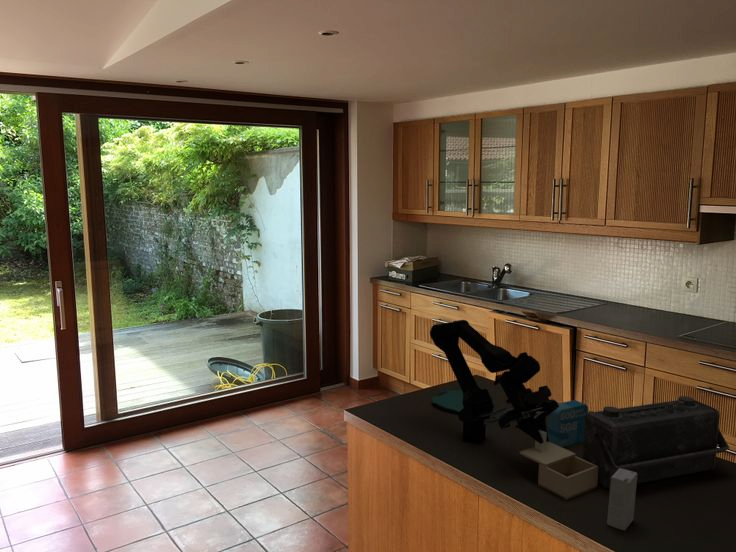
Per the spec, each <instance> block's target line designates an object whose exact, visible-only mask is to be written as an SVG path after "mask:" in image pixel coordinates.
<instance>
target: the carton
mask: <svg viewBox="0 0 736 552" xmlns="http://www.w3.org/2000/svg"><path fill="white" fill-rule="evenodd" d="M597 481H598V466H596V465H594V464H592V463H590V462H587V461H585V460H583V459H582V458H580V457H579V456H577V455H576V456H574V457H571V458H568V459H565V460H563V461H560V462H557V463H554V464H552V465H549V466H544V465H542V464H540V463H538V481H537V486H538V487H540V488H542V489H544V490H546V491H548V492H550V493H551V494H553V495H555V496H557V497H559V498H561V499H563V500H565V501H568V500H571V499H573V498H575V497H578V496H580V495H582V494H585V493H587V492H590V491H592V490H595V489H596V488H598V483H597Z"/></svg>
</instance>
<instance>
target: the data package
mask: <svg viewBox="0 0 736 552" xmlns="http://www.w3.org/2000/svg"><path fill="white" fill-rule="evenodd" d="M557 404H558V405H559V407H558V408H557V409H556V410H555V411H553V412H552V413H551V414H549V415H548V416H547V425H546V429H547V434H548V439H549V441H548V442H551V443H553V444H555V445H557V446H560V447H562V448H564V447H568V446H569V447H570V446H573V445H575V444H580V443H583V441H584V424H585V415H586V413H587V412H589V406H588V405H587V404H585V403H583V402H581V401H579V400H576V399H572V400H568V401H564V402H559V403H558V402H557Z"/></svg>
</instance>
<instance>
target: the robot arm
mask: <svg viewBox="0 0 736 552" xmlns="http://www.w3.org/2000/svg"><path fill="white" fill-rule="evenodd" d="M429 335H430V338H431V340H432V342H433V343H434V345H435V346H436V348H438V349H439V350H440V351H442V352H443V353H444V355H445V357H446V360H447V361H448V363H449V365H450V367H451V370H452V372H453V374H454V377H455V378H456V380H457V383H458V385H459V387H460V389H461V391H462V392H463V401H462V403H463V406H464V408H463V409H462V410H461V411H460V412H457V416H458V421H460V422H462V437H461V441H462V442H467V443H474V444H480V445H481V444H484V442H485V441H486V438H487V437H488V436H487V433H488V428H487V427H488V424H487V423H486V421H487V419H489V420H490V419H491V418H490V417H491V416H492V415H493V414H492V412H493V411H494V407H495V406H494V402H493V401H494V400H493V398H492V396H491V395H490V393H489V390H488V389H487V388H484V389H482V388H481V387H480V386H478V384H477V381H476V379H475V377H474V376H473V375H474V374H473V373H472V371H471V369H470V367H469V365H468V363H467V362H468V361H466V359H465V356H464V355H463V352H462V350H461V348H460V346H459V343H460V339H461V340H462V341H463V342H464V343H465V344H467V345H468V346H469V347H470V348H471V349H472V350H473V351H474V352H475V353H476V354H477V355H478V356H479V357H480V360H481V363H482V365H483V366H484V367H485V369H486V370H487V371H488V372H489V373H491V374H495V373H496V374H497V373H500V372H502V373H501V374H497V375H495V379H494V381H493V385H494V386H499V385H500V386H501V388H502V390H503V392H504V394H505V395H506V397H507V399H506V400H505V402H506V403H507V405H509V404H510V405H511V407H512V408H513V410H511V411H507V410H506V411H507V412H506V413H505V414H504V415H502V416H500V417H499V419H498V418H497V422H498V427H500V430H503V429H504V430H505V429H507V428H510V426H511V423H513V422H516V425H515V426H514V428H515V429H519V430H520V431H522V432H524V433H525V434H526V435H528V436H529V437H530V438H532V439H533V440H536V441H537V442H539V443H540V444H542V443H543V439H542V437H541V435H540V433H539V431H538V430H542V431H544V432H547V425H546V418H547V417H548V415H549V414H551V413H552V412H553V411H555V410H556V409H557V408H558V407H559V405H558V402H557V400H555V399H553V398H551V399H550V397H552V392H551V389H550V388H549V386H548V385H547V384H546V385H543V386H539V387H538V390H537V391H533V390H532V389H531V387H528V388H527V387H526V385H525V384H526V383H528V382H529V381H530V380H531V379H532V378H534V377H535V376H536V375H537V374H538V373H540V371H541V365H540V362H539V361H538V360H537V359H536V358H535V357H533V356H532V355H529V354H528V352H527V351H524V352H520V353H519V354H518V355H517V357H516V356H514V355H512V352H510V351H509V350H507V349H506V348H503V347H502V346H499V345H495V344H493V343H492V342H490V341H489V340H488V339H487V338H485V337H484V336H483V335H482V334H481V333H480V332H478V330H476V329H475V328H474V327H473V326H472V325H471V324H470V323H469V321H468V320H465V319H459V320H454V321H452V322H449V321H448V322H444V323H437V324H433V325H432V326H431V328H430V330H429ZM548 441H549V439H548V434H547V437H546V443H547V442H548Z"/></svg>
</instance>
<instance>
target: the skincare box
mask: <svg viewBox="0 0 736 552" xmlns="http://www.w3.org/2000/svg"><path fill="white" fill-rule="evenodd" d="M637 484H638V483H637V473H636V472H633V471H629V470H625V469H621V468H619V469H618V470H617V472H616V473H615V474H614V475H613V476H612V477H611V485H610V489H609V494H608V495H609V496H608V507H607V509H608V510H607V520H606V524H607V525H608V526H611V527H612V528H616V529H618V530H622V531H626V530H627V529H628V528H629V526H630V524H631V523H632V522H633V521H634V517H635V506H636V504H635V503H636V495H637V494H636V493H637Z"/></svg>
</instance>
